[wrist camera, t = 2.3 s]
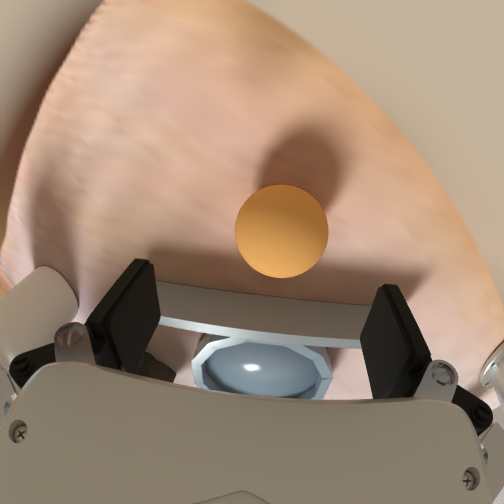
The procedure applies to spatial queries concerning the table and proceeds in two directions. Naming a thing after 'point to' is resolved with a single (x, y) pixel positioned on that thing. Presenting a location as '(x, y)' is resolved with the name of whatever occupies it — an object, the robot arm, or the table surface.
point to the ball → (281, 231)
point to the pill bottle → (34, 313)
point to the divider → (261, 316)
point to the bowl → (261, 368)
